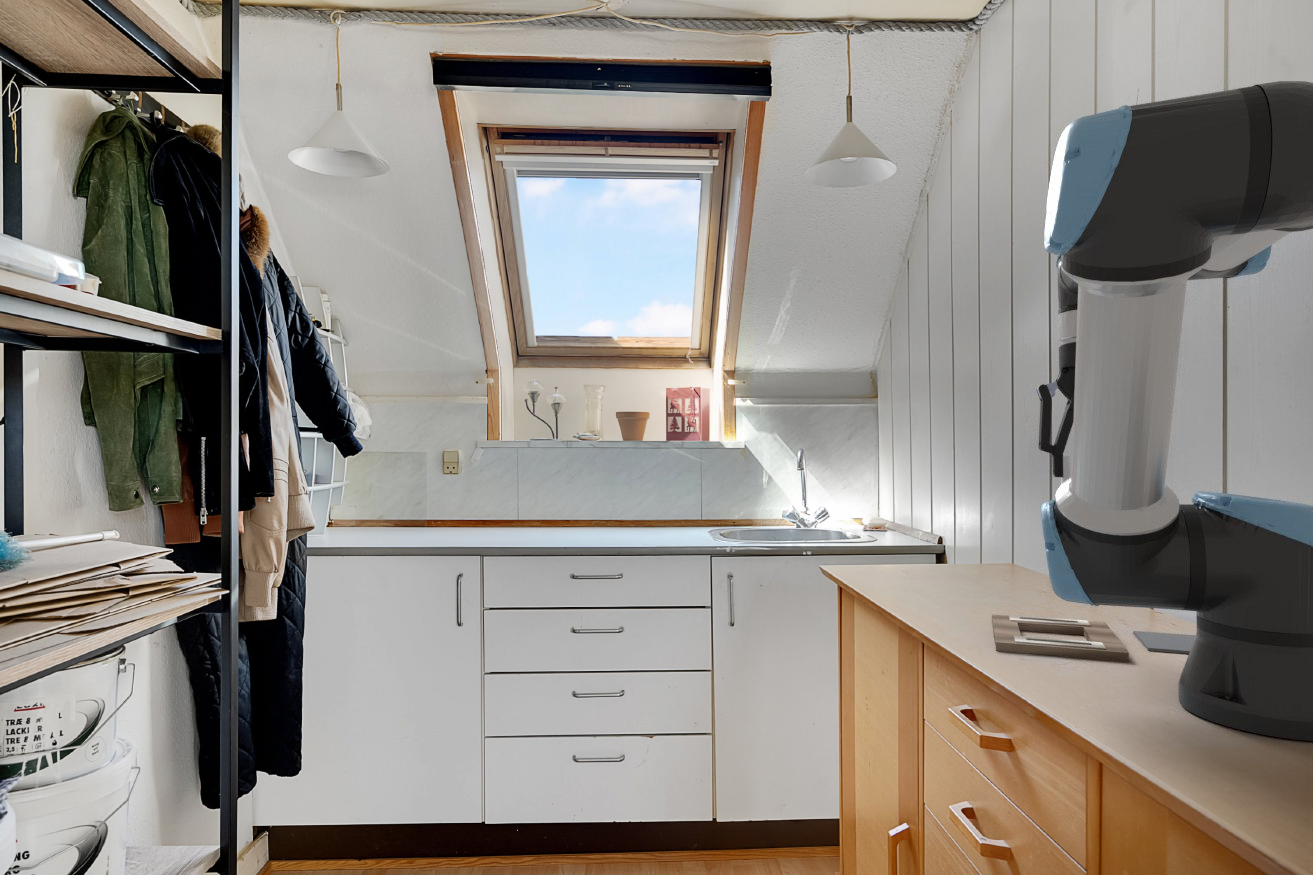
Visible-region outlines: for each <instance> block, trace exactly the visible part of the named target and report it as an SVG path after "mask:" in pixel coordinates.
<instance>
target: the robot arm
mask: <svg viewBox="0 0 1313 875" xmlns="http://www.w3.org/2000/svg"><path fill="white" fill-rule="evenodd" d="M1310 230H1313V82H1310V81H1303V80H1301V81H1300V80H1287V81H1286V80H1285V81H1284V80H1279V81H1272V82H1266V83H1258V84H1253V85H1251V86H1245V87H1240V88H1234V89H1227V90H1222V91H1214V92H1207V93H1202V94H1196V95H1191V96H1190V95H1189V96H1184V97H1177V98H1171V99H1165V100H1159V101H1151V102H1146V103H1139V104H1133V105H1127V104H1126V105H1121V106H1120V107H1118V108H1115V109H1111V110H1107V111H1102V112H1098V113H1093V114H1090V115H1086V116H1081V117H1079V118H1077V119H1074V120H1073V121H1072V122H1070V123H1069V125H1067V126H1066V127H1065V129H1064V130H1063V131H1062V133H1061V135H1060V138H1059V140H1058V143H1057V146H1056V150H1055V153H1054V158H1053V163H1052V168H1051V174H1050V178H1049V185H1048V193H1047V199H1046V216H1045V221H1044V233H1043V234H1044V235H1043V237H1044V238H1043V241H1044V249H1045V251H1046V252H1047V253H1048V254H1053V255H1055V256H1056V261H1055V263H1056V268H1057V269H1056V270H1057V298H1058V311H1057V313H1058V341H1059V342H1061V343H1063V344H1060V345H1059V347H1058V370H1059V371H1058V375H1057V377H1056V379H1055V381H1052V382H1049V383H1047V384H1044V383H1043V384H1041V385H1038V386H1037V387H1036V393H1037V396H1038V399H1039V402H1040V404H1039V406H1040V407H1039V423H1038V424H1039V428H1038V450H1039V451H1042V452H1044V453H1048V454H1050V455H1051V457H1052V474H1053V477H1054V478H1060V485H1059V486H1058V488H1057V490H1056V492H1055V499H1051V500H1050V501H1045V502H1043V503H1042V504H1041V506H1040V515H1041V516H1040V517H1041V526H1042V527H1041V528H1042V535H1043V540H1044V548H1045V555H1046V556H1045V557H1046V562H1047V563H1046V564H1047V570H1048V576H1049V580H1050V585H1051V589H1052V592H1053V593H1054V595H1056V596H1057V597H1058V598H1060V599H1062V600H1063V601H1065V602H1068V603H1069V602H1070V603H1077V604H1084V605H1085V604H1086V605H1090V606H1095V607H1099V606H1109V607H1125V608H1127V607H1131V608H1144V609H1145V608H1147V609H1158V610H1159V609H1161V610H1162V609H1163V610H1174V611H1175V610H1177V611H1186V612H1187V611H1188V612H1196V616H1195V617H1196V634H1195V635H1196V637H1195V640H1194V643H1193V645H1192V648H1191V650H1190V653H1189V654H1187V655H1188V656H1187V658H1186V661H1185V663H1184V665H1183V669H1182V671H1181V674H1180V677H1179V680H1178V702H1179V704H1180V705H1181V706H1182V707H1183V708H1184V710H1185V709H1186V710H1187V711H1189V712H1190V713H1192V714H1194V715H1195V716H1198V717H1200V718H1203V719H1205V720H1208V721H1211V722H1213V723H1215V724H1218V725H1219V724H1220V725H1223V726H1226V727H1229V728H1232V729H1237V730H1240V731H1245V732H1249V733H1254V734H1259V735H1264V736H1268V737H1269V736H1270V737H1274V738H1275V737H1276V738H1281V739H1290V740H1296V741H1297V740H1299V741H1308V742H1309V741H1311V742H1313V505H1312V504H1306V503H1301V502H1294V501H1287V500H1281V499H1273V498H1267V497H1266V498H1265V497H1257V496H1252V495H1251V496H1250V495H1243V494H1242V495H1241V494H1234V493H1233V494H1232V493H1225V492H1224V493H1223V492H1212V491H1202V490H1200V491H1196V492H1195V493H1194V496H1193V497H1192V498H1191V502H1192V504H1189V503H1186V504H1185V503H1184V504H1183V503H1181V504H1180V499H1179V498H1178V496H1177V494H1176V493H1175V492H1174V491H1173V489H1172V488H1170V487H1169V486H1168V485H1166V478H1167V477H1166V476H1167V470H1168V469H1167V467H1168V458H1169V450H1170V449H1169V448H1170V442H1171V441H1170V440H1171V439H1170V438H1171V431H1172V421H1173V414H1174V413H1173V412H1174V411H1173V410H1174V402H1175V393H1176V384H1177V373H1178V365H1179V357H1180V347H1181V346H1180V345H1181V337H1182V336H1181V335H1182V330H1183V329H1182V328H1183V327H1182V326H1183V318H1184V312H1185V311H1184V309H1185V301H1186V300H1185V299H1186V291H1187V281H1196V280H1198V281H1199V280H1211V279H1212V280H1213V279H1232V278H1237V277H1243V276H1249V275H1256V274H1259V273H1260V272H1262V271H1263V270H1264V269H1265V268H1266V266H1267V264H1268V263H1267V262H1269V260H1270V257H1271V253H1272V245H1273V244H1276V243H1277V242H1278V241H1281V240H1282V239H1283V238H1285V237H1287V236H1288V235H1290V234H1291V233H1298V232H1305V231H1310ZM1057 389H1058V390H1059V392H1060V393H1061V394H1062V395H1063V396H1064V397H1065V399H1067V401H1066V404H1065V406H1064V412H1063V415H1062V418H1061V421H1060V424H1059V428H1058V430H1057V434H1056V437H1055V439H1054V443H1053V444H1051V433H1052V432H1051V430H1052V413H1053V412H1052V410H1053V408H1052V407H1053V399H1052V398H1053V397H1055V395H1056V390H1057ZM1072 427H1073V428H1072ZM1071 431H1072V454H1071V457H1072V459H1071V461H1072V462H1071V463H1070V455H1064V453H1065V449H1066V446H1067V443H1068V439H1069V437H1070V434H1071ZM1070 464H1071V466H1070ZM1070 468H1071V471H1070ZM1070 473H1071V474H1070ZM1070 476H1071V477H1070Z"/></svg>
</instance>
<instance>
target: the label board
mask: <svg viewBox="0 0 1313 875" xmlns="http://www.w3.org/2000/svg"><path fill="white" fill-rule="evenodd" d="M991 624H992V633H993V639H994V646H995V651H996V652H1007V653H1008V652H1009V653H1021V654H1031V655H1044V656H1057V657H1067V658H1076V659H1077V658H1078V659H1087V660H1088V659H1089V660H1091V659H1092V660H1103V661H1114V662H1124V663H1125V662H1126V663H1129V662H1130V658H1129V657H1130V653H1129V651H1128V650H1127V649H1126V647H1125V646H1124V645H1123V643H1122V642H1121V641H1120V639H1119V638H1118V637H1117V636H1116V634H1115V633H1114V632H1113V631H1112V629H1111V628H1110V627H1109V625H1108V623H1107V622H1105V621H1093V620H1086V619H1085V620H1084V619H1069V618H1053V617H1041V616H1027V615H1025V616H1024V615H1014V614H1012V615H1011V614H1009V615H1006V614H991ZM1021 631H1026V632H1038V633H1039V632H1040V633H1051V634H1062V635H1063V634H1066V635H1078V636H1079V635H1080V636H1084V639H1086V640H1077V639H1076V640H1075V639H1065V638H1064V639H1062V638H1050V637H1037V636H1036V637H1035V636H1026V635H1025V636H1024V635H1023V636H1022V634H1021Z"/></svg>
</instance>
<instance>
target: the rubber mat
mask: <svg viewBox="0 0 1313 875" xmlns="http://www.w3.org/2000/svg"><path fill="white" fill-rule="evenodd" d="M1132 634H1133V635H1134V637H1136V639H1137V640H1138V641H1139V642H1140V643H1141V644H1142V646H1143V647H1144V648H1145V649H1146V650H1147V651H1150V652H1159V653H1160V652H1161V653H1173V654H1175V653H1176V654H1184V655H1185V654H1187V655H1189V653H1190V650H1191V648H1192V645H1193V643H1194V640H1195V637H1196V634H1195V635H1194V634H1186V633H1185V634H1183V633H1171V632H1170V633H1169V632H1168V633H1167V632H1155V631H1154V632H1153V631H1141V630H1133V631H1132Z"/></svg>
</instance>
